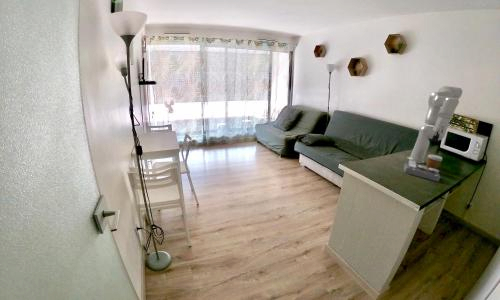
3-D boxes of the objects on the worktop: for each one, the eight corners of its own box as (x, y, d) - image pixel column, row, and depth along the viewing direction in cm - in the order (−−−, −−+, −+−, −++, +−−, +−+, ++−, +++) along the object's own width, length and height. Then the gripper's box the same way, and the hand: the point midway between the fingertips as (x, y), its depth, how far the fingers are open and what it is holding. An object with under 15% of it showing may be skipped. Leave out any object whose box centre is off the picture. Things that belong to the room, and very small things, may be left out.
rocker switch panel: (402, 165, 188) (404, 160, 186) (433, 173, 179) (435, 168, 177) (404, 172, 172) (406, 167, 171) (438, 181, 164) (440, 176, 162)
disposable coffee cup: (431, 172, 180) (437, 158, 175) (419, 167, 188) (425, 153, 184) (439, 172, 182) (446, 158, 178) (428, 167, 191) (434, 154, 187)
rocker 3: (428, 169, 174) (429, 167, 174) (435, 170, 172) (435, 169, 172) (431, 170, 166) (432, 168, 166) (438, 172, 164) (439, 170, 164)
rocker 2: (418, 166, 177) (418, 164, 176) (424, 167, 175) (425, 166, 175) (420, 167, 169) (421, 166, 168) (427, 169, 167) (428, 167, 167)
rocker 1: (408, 161, 179) (409, 160, 178) (414, 163, 177) (415, 161, 177) (408, 167, 172) (409, 165, 172) (415, 168, 171) (416, 167, 170)
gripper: (436, 113, 166) (426, 137, 172) (440, 116, 153) (429, 141, 159) (448, 115, 163) (438, 140, 169) (454, 118, 150) (442, 144, 156)
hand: (434, 141), depth 164 cm, fingers closed
